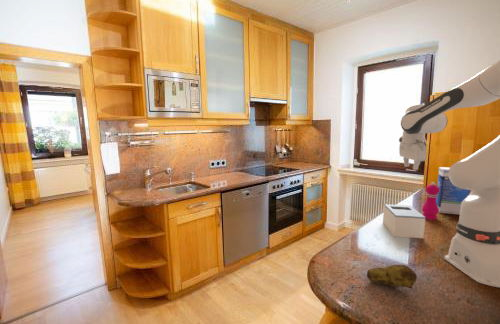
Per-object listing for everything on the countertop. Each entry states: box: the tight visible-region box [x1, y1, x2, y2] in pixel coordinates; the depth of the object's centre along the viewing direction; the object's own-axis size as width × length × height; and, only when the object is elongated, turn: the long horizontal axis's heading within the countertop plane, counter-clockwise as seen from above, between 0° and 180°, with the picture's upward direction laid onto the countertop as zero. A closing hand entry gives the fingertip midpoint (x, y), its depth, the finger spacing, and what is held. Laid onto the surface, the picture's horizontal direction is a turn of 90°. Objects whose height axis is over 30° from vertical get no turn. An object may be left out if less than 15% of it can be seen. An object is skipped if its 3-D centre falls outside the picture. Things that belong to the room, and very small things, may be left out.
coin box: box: [382, 203, 426, 239], centre depth 119 cm, size 16×12×10 cm
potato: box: [366, 264, 418, 289], centre depth 78 cm, size 8×13×8 cm, turn 40°
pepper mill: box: [421, 181, 439, 221], centre depth 134 cm, size 7×7×20 cm
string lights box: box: [436, 166, 470, 216], centre depth 142 cm, size 13×8×26 cm, turn 68°
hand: (410, 167), depth 120 cm, fingers open, 8 cm apart
